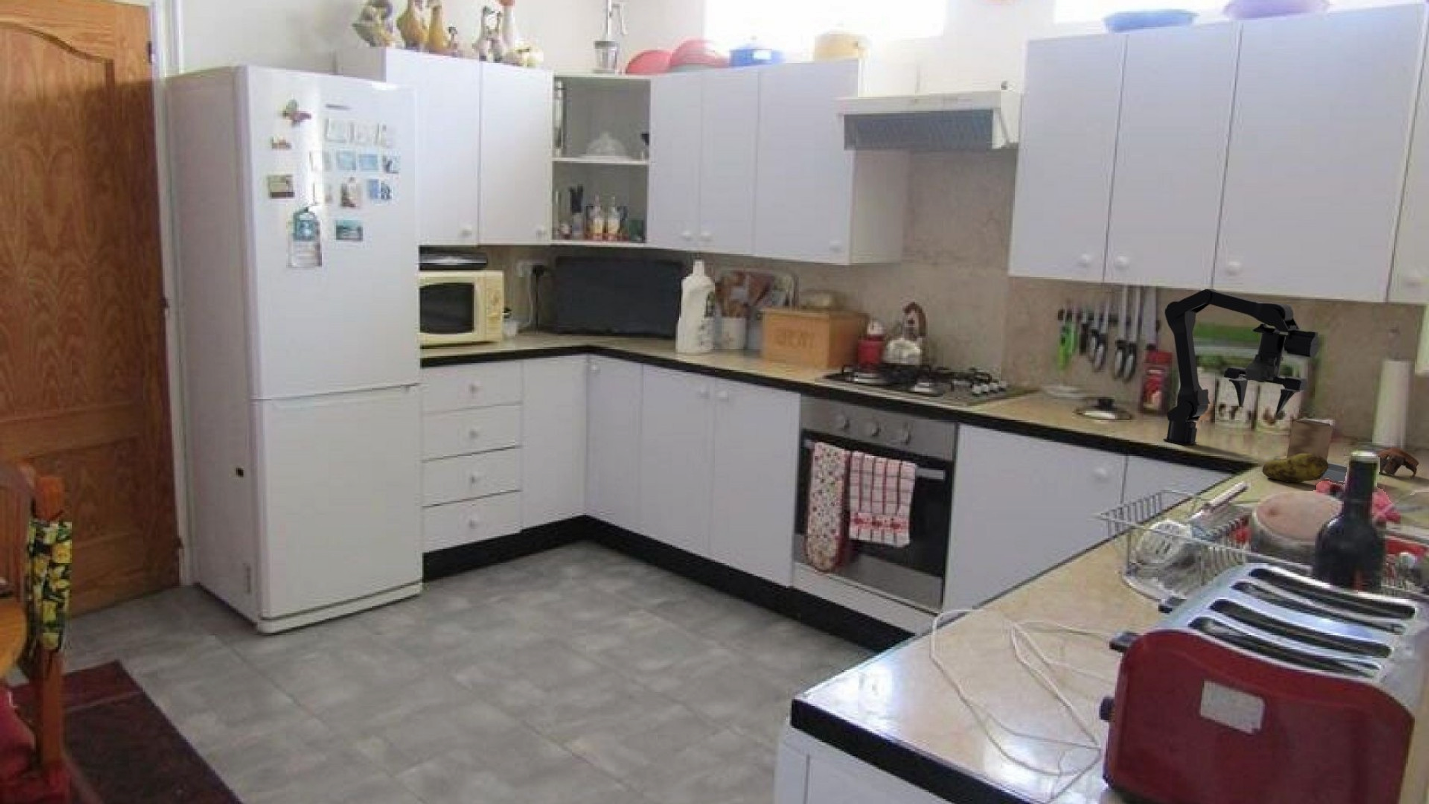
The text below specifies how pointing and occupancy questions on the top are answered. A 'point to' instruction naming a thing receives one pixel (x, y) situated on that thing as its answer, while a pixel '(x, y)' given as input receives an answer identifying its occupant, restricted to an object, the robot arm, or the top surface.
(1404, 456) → the brown irregular pronged part
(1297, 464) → the potato
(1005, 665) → the top surface
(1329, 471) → the blue-gray angular pronged part
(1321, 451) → the crate
